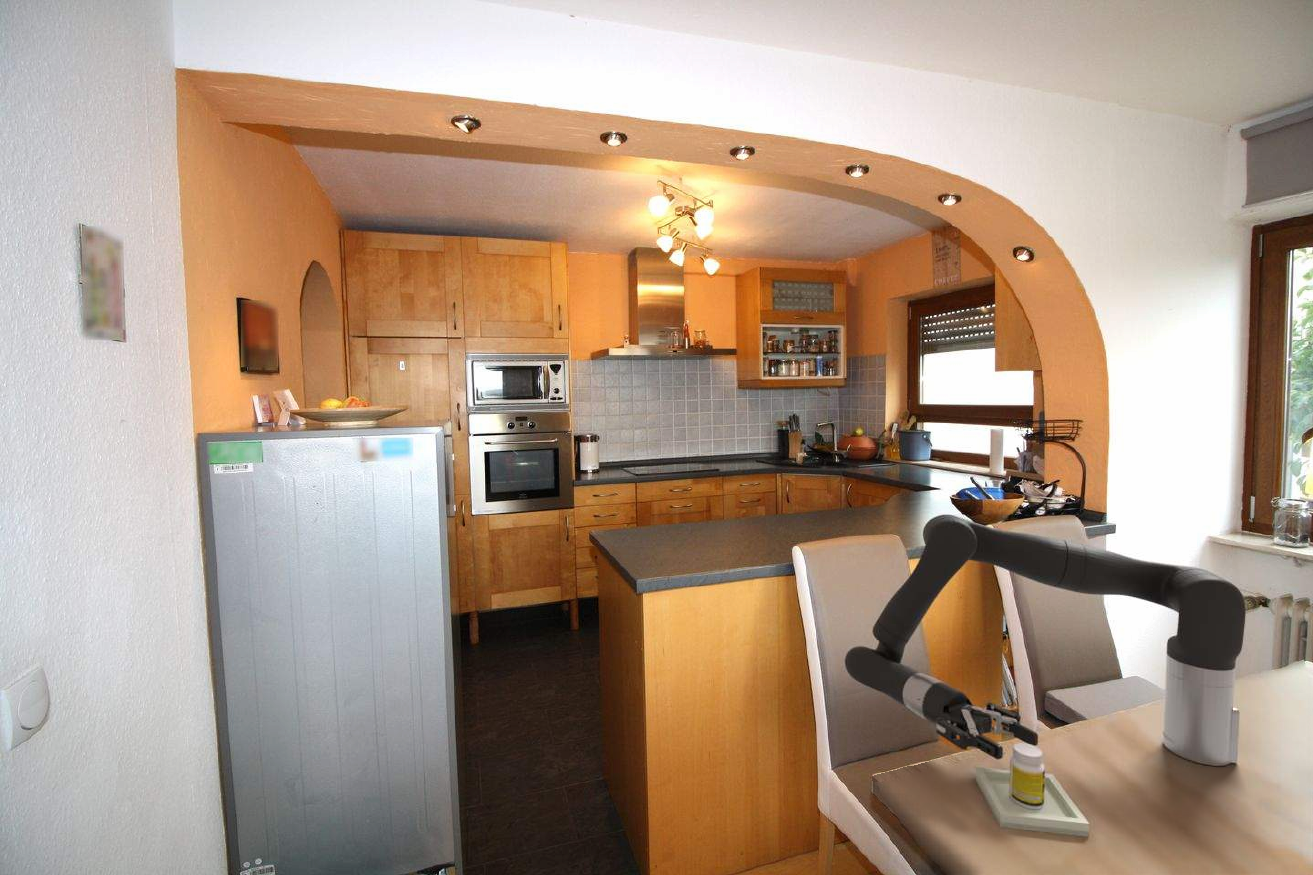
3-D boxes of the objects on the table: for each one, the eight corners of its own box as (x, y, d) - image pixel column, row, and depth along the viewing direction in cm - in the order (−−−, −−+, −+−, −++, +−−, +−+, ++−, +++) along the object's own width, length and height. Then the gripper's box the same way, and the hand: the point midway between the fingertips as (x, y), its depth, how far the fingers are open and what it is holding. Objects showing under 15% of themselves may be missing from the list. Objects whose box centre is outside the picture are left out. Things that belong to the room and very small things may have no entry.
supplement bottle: (1049, 812, 93) (1050, 759, 93) (1015, 808, 94) (1017, 756, 94) (1036, 792, 98) (1037, 742, 97) (1004, 788, 99) (1005, 739, 98)
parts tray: (1051, 785, 101) (1052, 774, 101) (1088, 836, 89) (1089, 823, 89) (974, 778, 103) (974, 766, 103) (1000, 826, 91) (1000, 814, 91)
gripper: (907, 689, 108) (989, 734, 94) (962, 674, 114) (1048, 714, 99) (906, 729, 109) (988, 781, 94) (961, 712, 115) (1047, 758, 100)
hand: (1019, 746), depth 97 cm, fingers open, 8 cm apart
